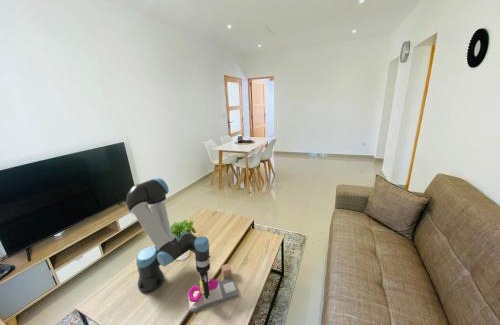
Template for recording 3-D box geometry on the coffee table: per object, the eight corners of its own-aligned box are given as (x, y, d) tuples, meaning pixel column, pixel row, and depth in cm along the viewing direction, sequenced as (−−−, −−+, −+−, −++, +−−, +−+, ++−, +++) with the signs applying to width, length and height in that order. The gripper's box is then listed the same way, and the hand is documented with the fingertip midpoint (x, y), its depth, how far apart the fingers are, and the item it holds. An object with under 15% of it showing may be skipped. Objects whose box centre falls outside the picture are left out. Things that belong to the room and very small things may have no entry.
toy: (189, 289, 129) (184, 285, 121) (217, 275, 133) (213, 270, 125) (193, 307, 122) (188, 304, 115) (222, 292, 126) (219, 288, 119)
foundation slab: (190, 313, 117) (189, 311, 117) (187, 293, 128) (187, 291, 128) (238, 296, 127) (238, 294, 127) (232, 278, 139) (232, 277, 138)
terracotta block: (223, 279, 138) (223, 271, 136) (221, 273, 142) (221, 265, 140) (231, 277, 140) (230, 269, 137) (228, 271, 144) (228, 263, 142)
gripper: (214, 277, 109) (215, 308, 116) (205, 247, 129) (207, 274, 137) (199, 282, 106) (201, 313, 113) (193, 250, 127) (195, 277, 134)
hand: (204, 291), depth 125 cm, fingers closed on toy, 11 cm apart
